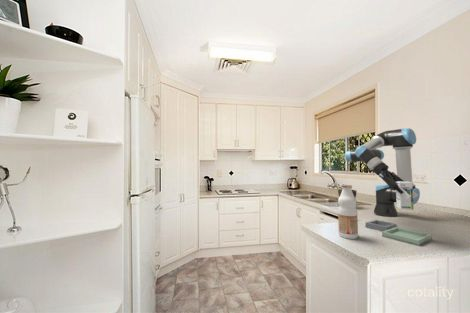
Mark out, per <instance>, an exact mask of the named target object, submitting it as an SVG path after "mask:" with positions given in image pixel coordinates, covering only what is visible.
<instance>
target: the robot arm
mask: <svg viewBox="0 0 470 313" xmlns="http://www.w3.org/2000/svg"><path fill="white" fill-rule="evenodd" d="M416 135H417V134H416V133H415V131H414V130H413V129H412V128H411V127H410V128H398V129H392V130H389V129H388V130H385V131H382V132H380V133H378V134H375V135H374V136H372V137H371V138H370V140H368V141H366V142H365V143H363V144H362V145H360V146H358V147H357V148H354V149H353V150H348V151H346V152H345V154H344V158H345V160H346V161H347V162H351V163H352V162H363V164H365V166H367V167H368V169H370V170H371V171H372V172H373V173H374V174H375V175H376V176H378V177H379V178H380V179H381V180H382V181H384V183H385V184H379V185H376V186H375V207H374V209H373V214H374V215H376V216H381V217H388V218H389V217H393V218H394V217H395V218H396V217H398V214H399V213H398V211H397V207H396V204H395V203H397V200H396V191H397V192H398V193H399V194H400V195H402V196H403V197H404V198H405V199H406V200H407V199H409V198H410V197H411V196H410V195H409V194H408V193H407V192H406V191H405V190H403V189H402V188H401V187H399V186H398V185H397V184H396V181H405V182H412V187H413V205H416V204H417V203H418V202H419V200H420V195H421V190H420V189H419V188H417V187H416V184H415V183H414V182H413V172H412V171H413V169H412V154H411V149H412V148H413V147H414V145H416V143H417V136H416ZM391 146H392V149H393V150H394V152H395V163H396V173H395V172H394V171H389V166H388V164H386V163H385V162H384V161H383V159H384V157H385V153H384V151H382V150H381V149H380V148H382V147H391Z"/></svg>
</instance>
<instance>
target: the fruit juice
mask: <svg viewBox="0 0 470 313" xmlns="http://www.w3.org/2000/svg"><path fill="white" fill-rule="evenodd" d="M352 188H353V186H352V185H351V184H341V189H342V192H341V195H340V197H339V196H338V199H337V202H338V209H337V214H338V215H337V216H338V219H337V220H338V236H339V237H341V238H344V239H349V240H356V239H358V237H359V225H358V223H359V222H358V219H359V218H358V209H357V204H358V203H357V202H358V201H357V198H355V197H354V195H353V192H352V190H353V189H352Z"/></svg>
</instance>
